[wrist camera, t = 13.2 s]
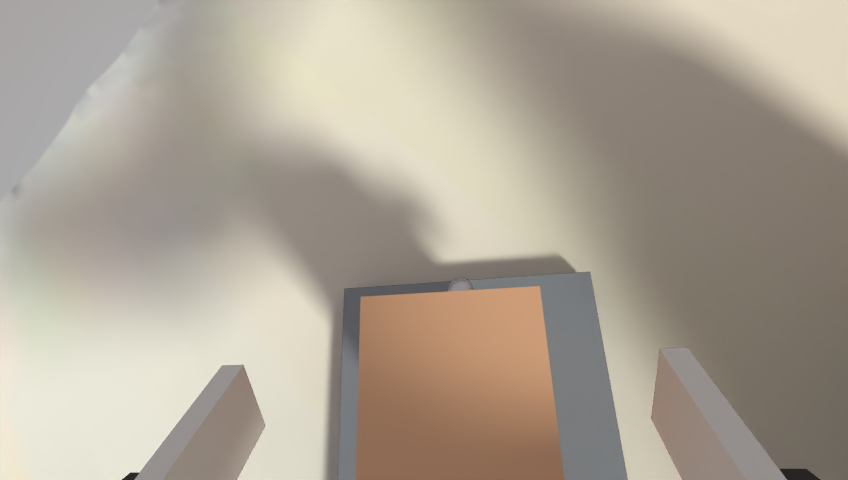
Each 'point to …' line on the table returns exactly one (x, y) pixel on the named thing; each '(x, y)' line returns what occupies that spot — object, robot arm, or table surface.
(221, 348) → the table surface
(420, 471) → the case
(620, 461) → the pin tray
